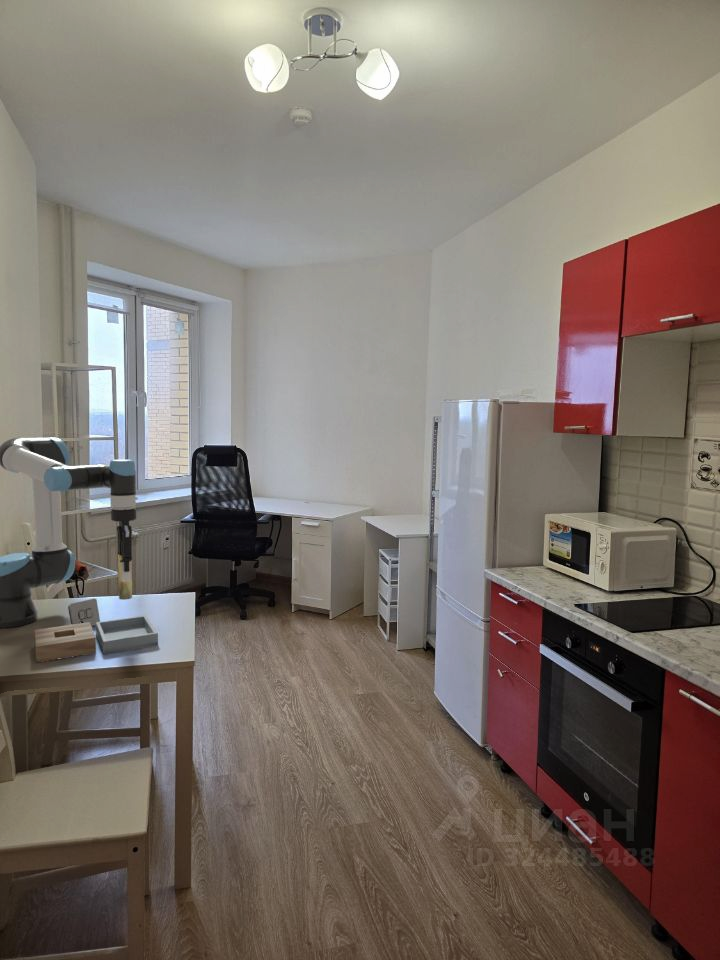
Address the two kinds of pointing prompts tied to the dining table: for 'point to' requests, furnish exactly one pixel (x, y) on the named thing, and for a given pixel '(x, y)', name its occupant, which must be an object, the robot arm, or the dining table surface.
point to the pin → (124, 583)
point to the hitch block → (64, 641)
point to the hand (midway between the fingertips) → (125, 579)
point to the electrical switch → (84, 612)
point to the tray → (126, 634)
